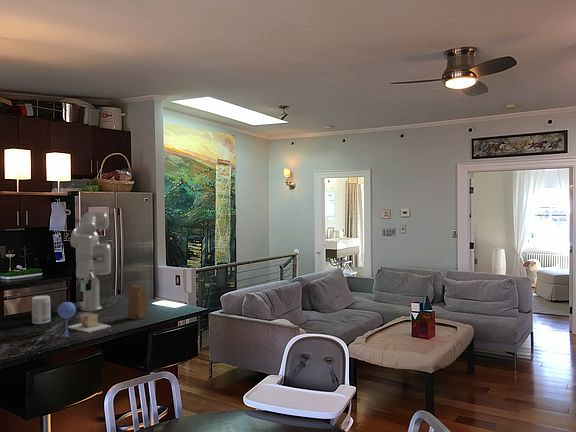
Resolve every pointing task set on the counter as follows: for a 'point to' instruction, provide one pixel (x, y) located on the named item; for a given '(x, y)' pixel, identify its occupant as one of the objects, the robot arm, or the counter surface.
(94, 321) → the oak cube
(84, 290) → the sage drum
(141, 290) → the block
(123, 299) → the counter surface
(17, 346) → the counter surface
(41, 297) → the supplement tub
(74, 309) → the baby rattle
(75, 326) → the plan board
